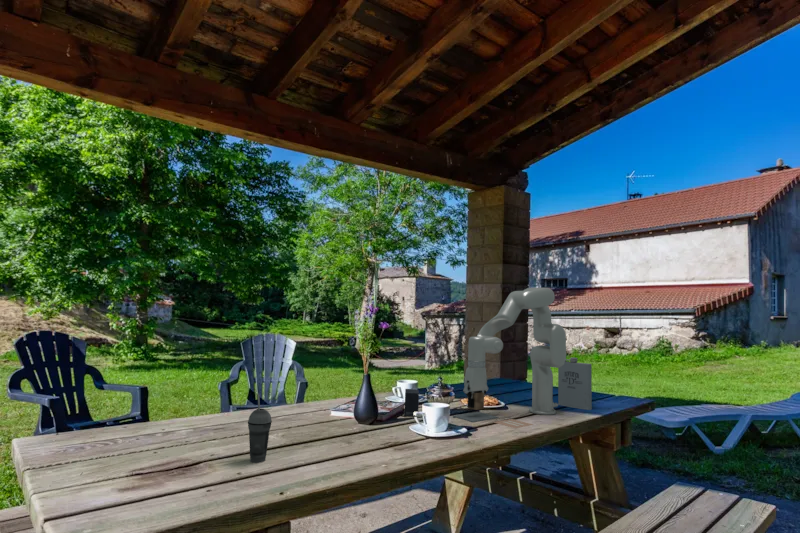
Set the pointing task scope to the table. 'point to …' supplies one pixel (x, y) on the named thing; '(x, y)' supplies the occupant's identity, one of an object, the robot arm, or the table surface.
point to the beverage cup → (259, 433)
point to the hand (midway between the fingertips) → (475, 406)
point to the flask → (575, 385)
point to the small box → (411, 401)
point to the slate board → (475, 416)
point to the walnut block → (478, 400)
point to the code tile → (513, 423)
